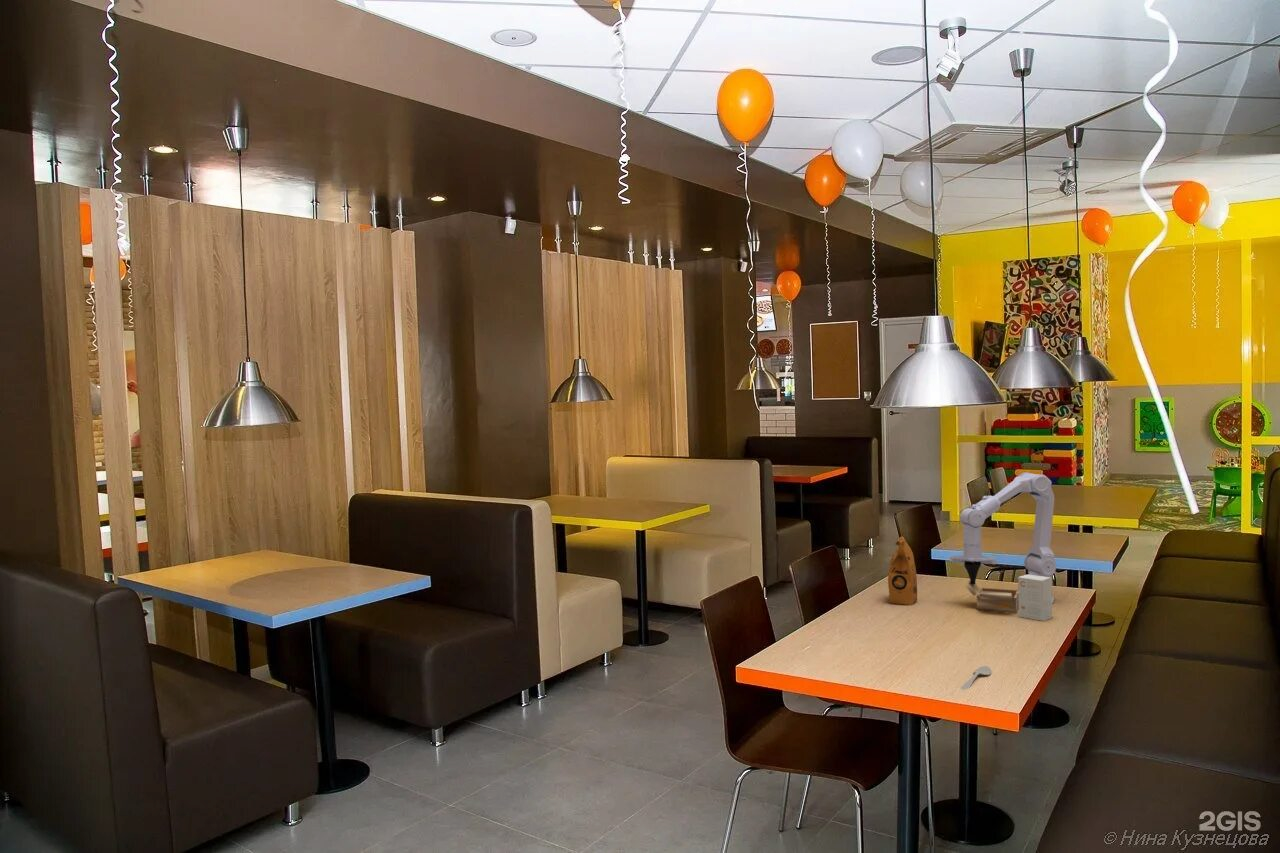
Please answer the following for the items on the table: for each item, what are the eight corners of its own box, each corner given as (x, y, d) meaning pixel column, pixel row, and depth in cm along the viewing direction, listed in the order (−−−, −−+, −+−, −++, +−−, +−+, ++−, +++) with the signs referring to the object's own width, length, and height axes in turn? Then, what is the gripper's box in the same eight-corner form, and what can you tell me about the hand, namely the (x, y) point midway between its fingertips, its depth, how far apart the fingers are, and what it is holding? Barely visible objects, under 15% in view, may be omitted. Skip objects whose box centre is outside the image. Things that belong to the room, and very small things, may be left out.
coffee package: (884, 604, 302) (883, 541, 301) (891, 596, 313) (890, 535, 312) (914, 606, 297) (913, 542, 296) (920, 598, 308) (918, 536, 308)
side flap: (971, 579, 300) (969, 581, 301) (967, 584, 292) (965, 586, 292) (980, 588, 299) (977, 590, 300) (976, 594, 291) (974, 596, 291)
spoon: (995, 673, 227) (995, 667, 227) (967, 695, 211) (967, 688, 211) (978, 670, 230) (978, 664, 230) (950, 692, 214) (950, 685, 214)
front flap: (979, 590, 286) (979, 593, 285) (1011, 593, 281) (1011, 595, 281) (981, 595, 289) (980, 598, 288) (1012, 598, 284) (1012, 601, 284)
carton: (981, 602, 300) (981, 587, 300) (1019, 605, 295) (1019, 590, 294) (976, 610, 290) (976, 595, 289) (1016, 613, 284) (1015, 598, 284)
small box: (1052, 617, 277) (1052, 577, 277) (1043, 621, 273) (1042, 580, 273) (1027, 613, 284) (1027, 573, 283) (1018, 617, 280) (1017, 576, 279)
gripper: (948, 544, 295) (948, 584, 296) (994, 547, 288) (994, 587, 289) (951, 541, 301) (952, 580, 302) (996, 543, 295) (997, 583, 295)
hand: (973, 583), depth 296 cm, fingers closed
